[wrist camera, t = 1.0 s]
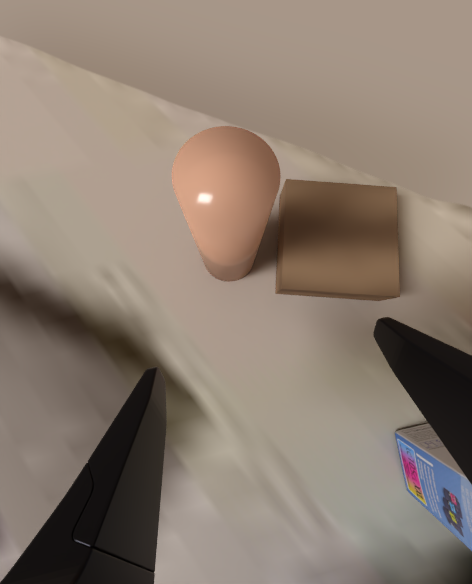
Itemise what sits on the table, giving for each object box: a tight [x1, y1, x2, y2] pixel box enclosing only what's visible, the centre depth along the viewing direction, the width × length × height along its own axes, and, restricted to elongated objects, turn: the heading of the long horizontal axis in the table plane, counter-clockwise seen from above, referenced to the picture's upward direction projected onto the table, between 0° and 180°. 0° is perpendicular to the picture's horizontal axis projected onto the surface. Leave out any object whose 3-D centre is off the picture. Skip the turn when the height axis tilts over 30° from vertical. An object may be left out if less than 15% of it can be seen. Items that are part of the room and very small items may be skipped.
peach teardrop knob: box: [172, 126, 280, 281], centre depth 18 cm, size 5×5×13 cm
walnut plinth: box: [276, 179, 400, 301], centre depth 23 cm, size 10×10×3 cm
